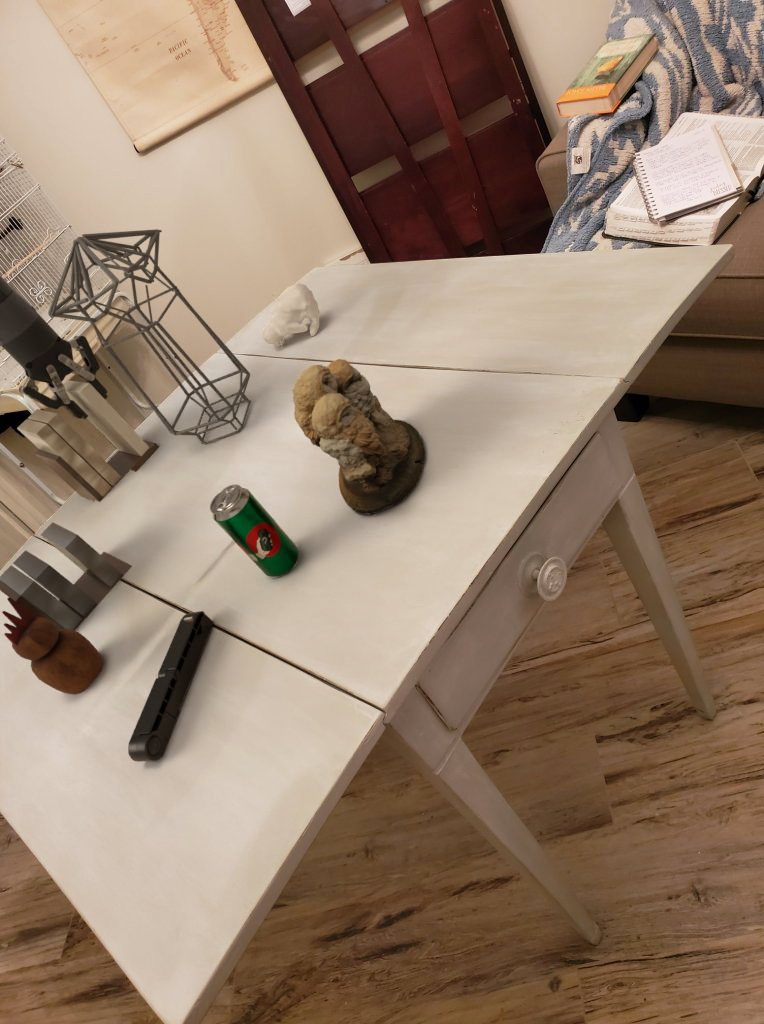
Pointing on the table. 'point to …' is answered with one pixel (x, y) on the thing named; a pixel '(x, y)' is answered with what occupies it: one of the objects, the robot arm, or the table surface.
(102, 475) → the wooden book holder
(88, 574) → the grey rack
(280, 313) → the white lumpy piece
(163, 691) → the tablet stand
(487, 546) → the table surface
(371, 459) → the tan stone sculpture
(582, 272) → the table surface
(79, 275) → the geometric lantern
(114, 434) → the cream rectangular block
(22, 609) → the wooden figurine
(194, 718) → the table surface
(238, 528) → the soda can
